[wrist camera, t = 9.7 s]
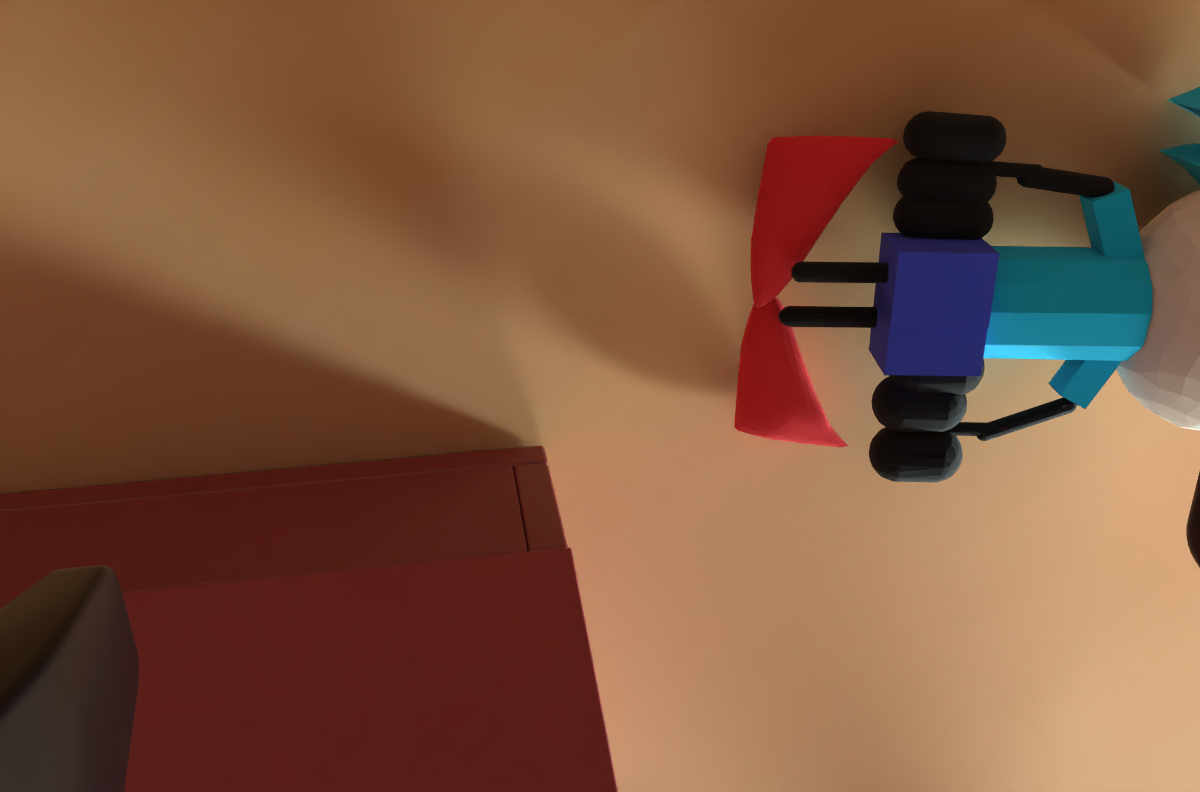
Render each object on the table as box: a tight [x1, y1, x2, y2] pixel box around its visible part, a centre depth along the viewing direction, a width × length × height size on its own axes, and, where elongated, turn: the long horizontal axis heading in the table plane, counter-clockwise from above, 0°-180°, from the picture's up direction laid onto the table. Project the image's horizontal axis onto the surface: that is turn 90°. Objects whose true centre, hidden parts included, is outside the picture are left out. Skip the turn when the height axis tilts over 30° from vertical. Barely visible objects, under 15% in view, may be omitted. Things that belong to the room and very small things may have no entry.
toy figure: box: [735, 87, 1200, 482], centre depth 22 cm, size 8×5×15 cm
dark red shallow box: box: [0, 446, 568, 605], centre depth 23 cm, size 11×16×4 cm, turn 91°
